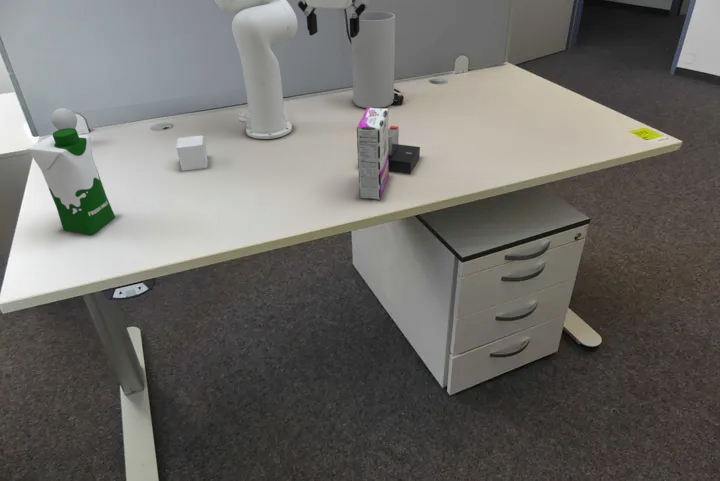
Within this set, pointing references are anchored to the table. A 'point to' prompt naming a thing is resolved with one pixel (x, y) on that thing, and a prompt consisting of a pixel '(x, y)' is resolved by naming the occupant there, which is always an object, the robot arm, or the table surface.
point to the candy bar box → (373, 153)
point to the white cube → (192, 153)
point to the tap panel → (404, 159)
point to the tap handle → (392, 139)
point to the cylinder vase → (374, 60)
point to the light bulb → (64, 119)
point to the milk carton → (73, 181)
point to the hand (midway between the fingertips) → (333, 35)
